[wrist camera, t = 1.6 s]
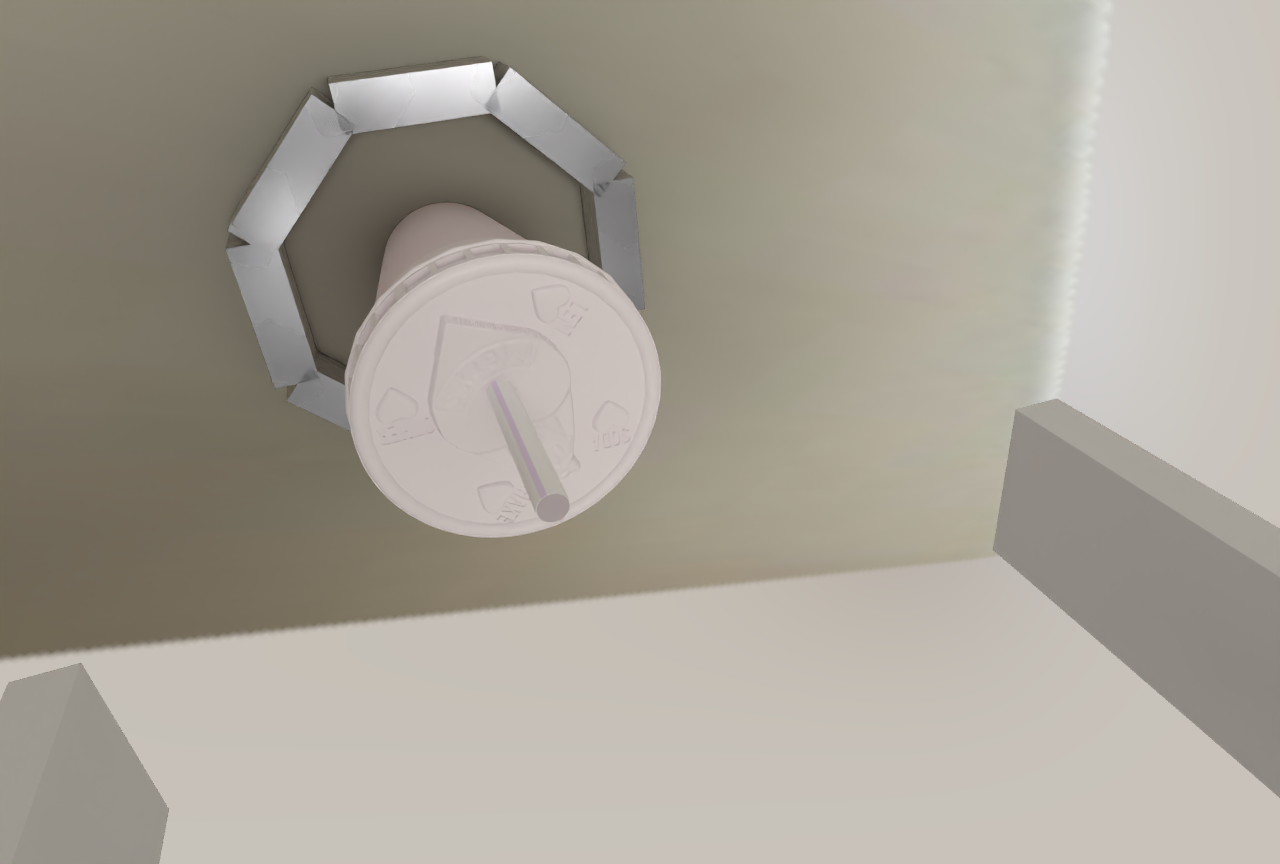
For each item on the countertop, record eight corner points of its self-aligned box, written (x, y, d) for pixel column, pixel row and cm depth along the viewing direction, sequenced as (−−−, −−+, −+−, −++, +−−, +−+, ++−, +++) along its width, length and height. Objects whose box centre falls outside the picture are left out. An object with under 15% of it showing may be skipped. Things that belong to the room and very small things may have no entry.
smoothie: (476, 106, 23) (647, 249, 11) (592, 289, 26) (811, 539, 15) (282, 238, 23) (253, 519, 11) (424, 403, 26) (515, 744, 15)
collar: (310, 465, 26) (310, 490, 25) (182, 96, 20) (174, 104, 19) (638, 386, 29) (653, 406, 27) (604, 40, 23) (621, 44, 22)
